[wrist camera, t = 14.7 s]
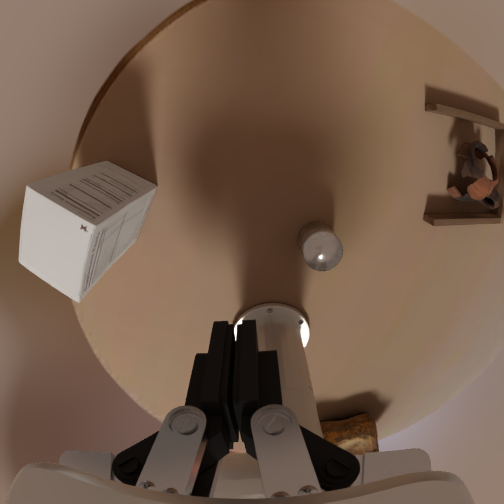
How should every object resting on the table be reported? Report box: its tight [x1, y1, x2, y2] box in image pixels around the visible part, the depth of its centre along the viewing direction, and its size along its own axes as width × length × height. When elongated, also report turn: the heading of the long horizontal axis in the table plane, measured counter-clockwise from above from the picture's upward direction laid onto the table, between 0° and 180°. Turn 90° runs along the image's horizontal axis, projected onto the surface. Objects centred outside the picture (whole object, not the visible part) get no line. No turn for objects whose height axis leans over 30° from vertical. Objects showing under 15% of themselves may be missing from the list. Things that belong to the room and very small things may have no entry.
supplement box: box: [19, 161, 157, 303], centre depth 28 cm, size 10×9×17 cm
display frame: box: [423, 104, 504, 226], centre depth 31 cm, size 18×19×3 cm
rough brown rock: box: [320, 414, 379, 455], centre depth 51 cm, size 23×17×15 cm
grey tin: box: [298, 222, 343, 271], centre depth 36 cm, size 5×5×5 cm
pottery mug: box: [447, 141, 500, 209], centre depth 31 cm, size 12×10×8 cm
